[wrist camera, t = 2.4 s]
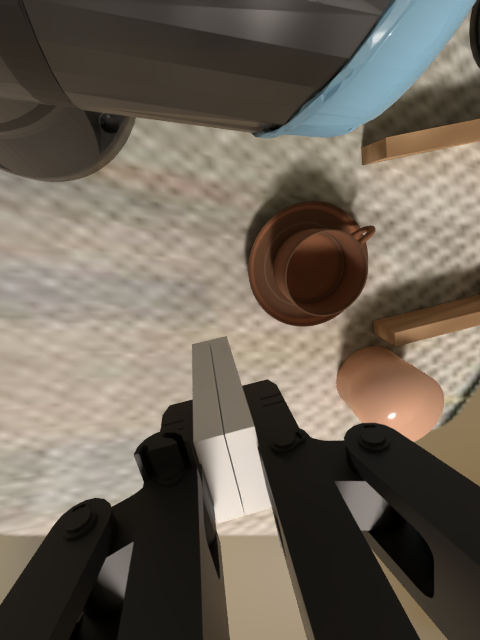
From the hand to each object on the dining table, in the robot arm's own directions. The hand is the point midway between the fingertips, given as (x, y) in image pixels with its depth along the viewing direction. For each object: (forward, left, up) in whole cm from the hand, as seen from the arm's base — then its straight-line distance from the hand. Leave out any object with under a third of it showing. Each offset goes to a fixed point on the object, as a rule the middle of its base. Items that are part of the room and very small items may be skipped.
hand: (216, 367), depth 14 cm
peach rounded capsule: (+15, +17, -18) cm, 29 cm away
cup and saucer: (0, +11, -19) cm, 21 cm away
